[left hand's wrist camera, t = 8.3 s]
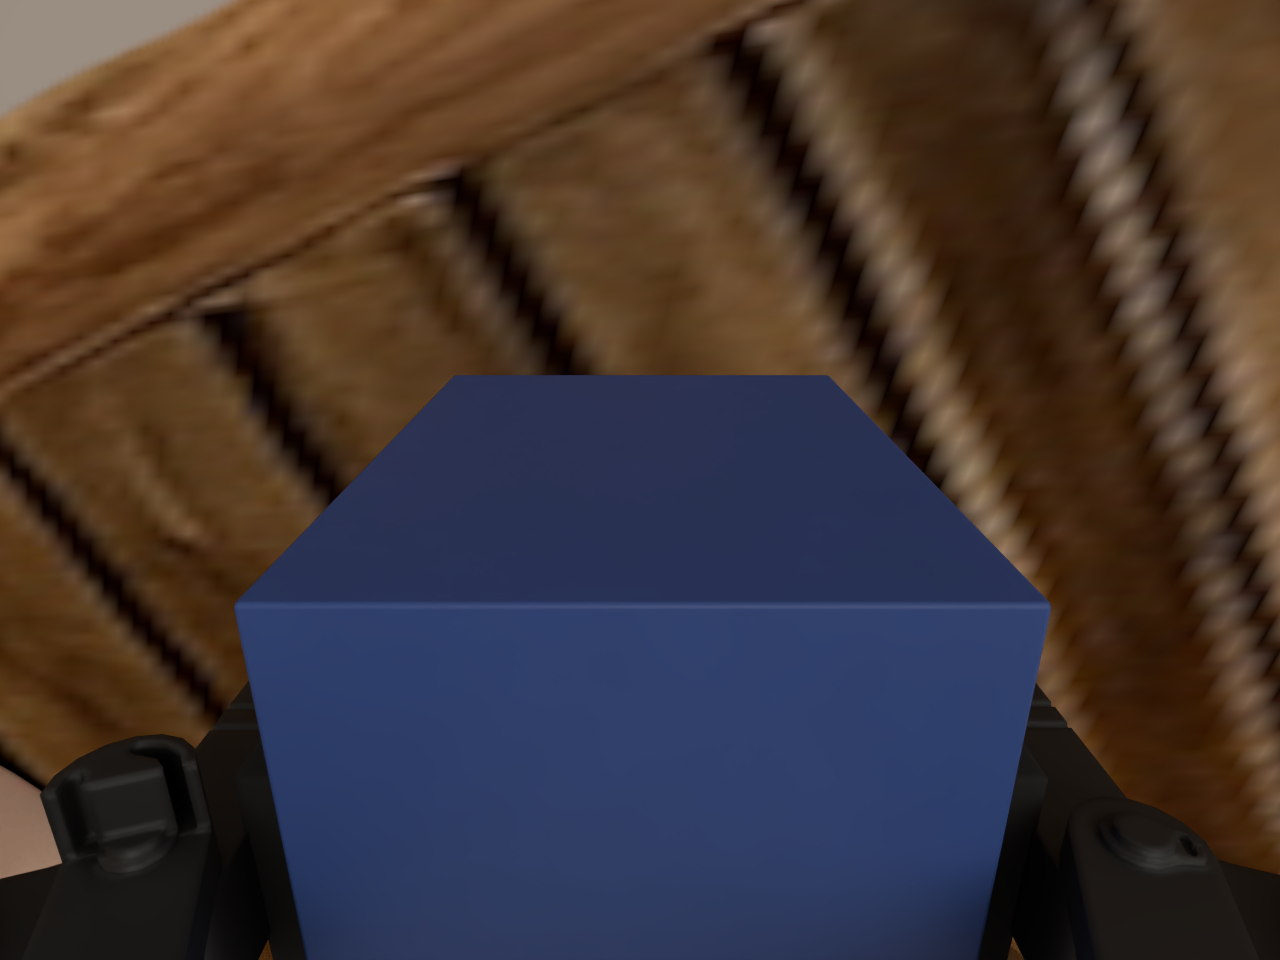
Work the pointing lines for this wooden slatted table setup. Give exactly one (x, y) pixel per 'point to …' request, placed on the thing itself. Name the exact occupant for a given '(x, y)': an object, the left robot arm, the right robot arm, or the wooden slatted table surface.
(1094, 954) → the left robot arm
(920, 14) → the wooden slatted table surface
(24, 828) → the anatomical model
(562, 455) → the block
